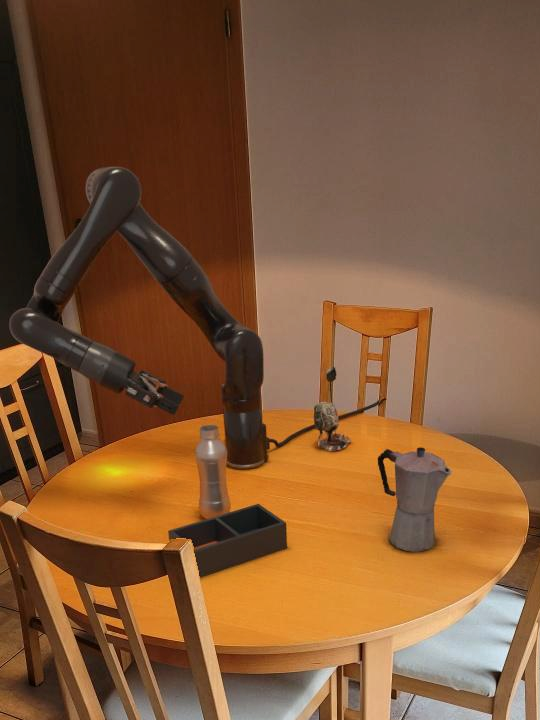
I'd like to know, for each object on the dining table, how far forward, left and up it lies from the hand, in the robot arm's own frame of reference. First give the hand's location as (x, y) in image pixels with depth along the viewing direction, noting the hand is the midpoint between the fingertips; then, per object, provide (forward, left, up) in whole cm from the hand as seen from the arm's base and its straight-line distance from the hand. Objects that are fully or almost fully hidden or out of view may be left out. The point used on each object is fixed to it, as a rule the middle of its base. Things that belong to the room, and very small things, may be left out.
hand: (179, 405), depth 163 cm
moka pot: (-28, +41, -23) cm, 55 cm away
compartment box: (+3, +24, -23) cm, 33 cm away
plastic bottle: (-2, +9, -23) cm, 25 cm away
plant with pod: (-45, -9, -23) cm, 51 cm away
